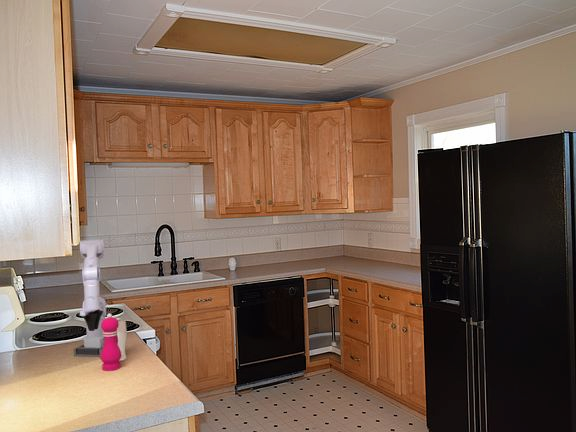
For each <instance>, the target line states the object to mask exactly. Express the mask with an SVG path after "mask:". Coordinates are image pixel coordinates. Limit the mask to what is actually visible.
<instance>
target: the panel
mask: <svg viewBox="0 0 576 432" xmlns="http://www.w3.org/2000/svg"><path fill="white" fill-rule="evenodd" d="M83 339H84V340H83V344H84V347H89V348H103V346H104V338H103V337H87V336H86V337H83Z"/></svg>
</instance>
